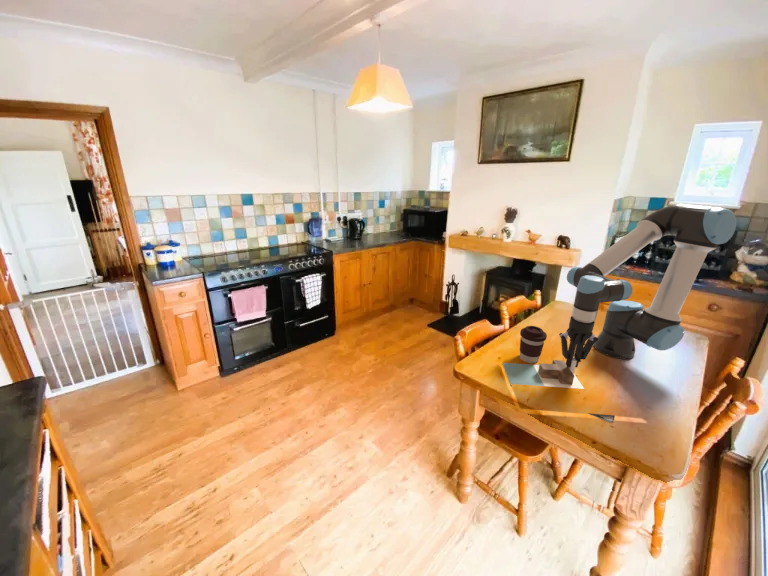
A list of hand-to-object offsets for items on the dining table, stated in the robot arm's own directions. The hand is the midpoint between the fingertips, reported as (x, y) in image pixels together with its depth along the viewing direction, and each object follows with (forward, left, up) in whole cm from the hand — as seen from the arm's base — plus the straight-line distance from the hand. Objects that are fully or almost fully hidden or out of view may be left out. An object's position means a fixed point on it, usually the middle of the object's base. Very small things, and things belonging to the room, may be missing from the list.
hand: (569, 373), depth 124 cm
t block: (+6, 0, -2) cm, 6 cm away
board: (+10, 0, -3) cm, 11 cm away
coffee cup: (+11, -12, -3) cm, 17 cm away
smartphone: (-6, +14, -3) cm, 16 cm away
